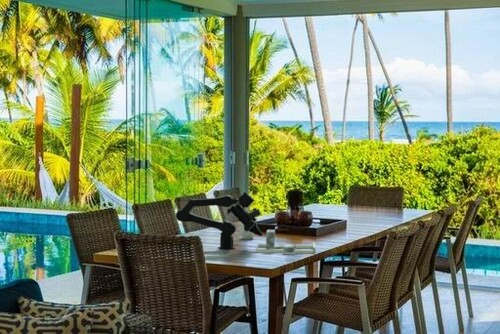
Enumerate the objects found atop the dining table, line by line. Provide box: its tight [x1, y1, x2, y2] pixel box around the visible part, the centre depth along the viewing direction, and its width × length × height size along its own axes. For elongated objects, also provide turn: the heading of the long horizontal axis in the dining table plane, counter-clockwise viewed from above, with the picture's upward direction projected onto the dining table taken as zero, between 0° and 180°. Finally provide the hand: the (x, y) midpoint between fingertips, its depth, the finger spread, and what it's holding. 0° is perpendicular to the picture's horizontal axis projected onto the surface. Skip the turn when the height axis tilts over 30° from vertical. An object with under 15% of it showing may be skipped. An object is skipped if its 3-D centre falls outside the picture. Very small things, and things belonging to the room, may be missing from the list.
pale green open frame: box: [255, 242, 316, 254], centre depth 454 cm, size 30×18×3 cm, turn 86°
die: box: [238, 224, 255, 240], centre depth 493 cm, size 8×9×10 cm
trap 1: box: [282, 251, 296, 256], centre depth 442 cm, size 6×6×1 cm
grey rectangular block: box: [265, 229, 295, 252], centre depth 454 cm, size 14×10×10 cm
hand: (261, 235), depth 454 cm, fingers closed
